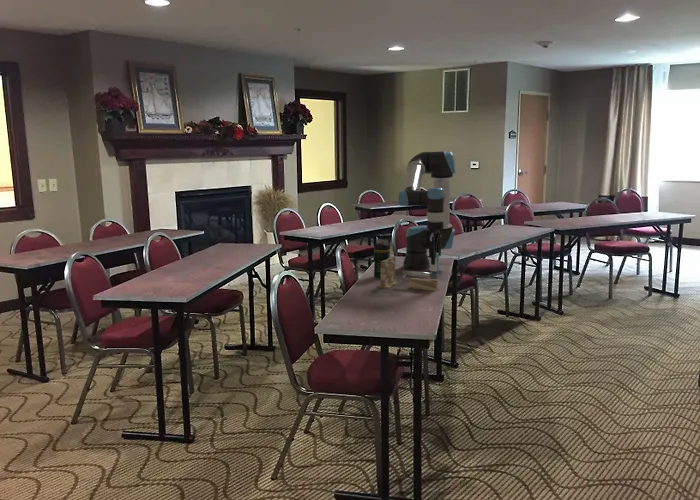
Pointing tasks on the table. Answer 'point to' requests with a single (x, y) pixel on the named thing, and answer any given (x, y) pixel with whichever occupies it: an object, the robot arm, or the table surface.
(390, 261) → the tan wooden block
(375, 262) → the coffee jar
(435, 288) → the tan wooden bar
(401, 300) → the table surface
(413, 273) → the teal handled tool
